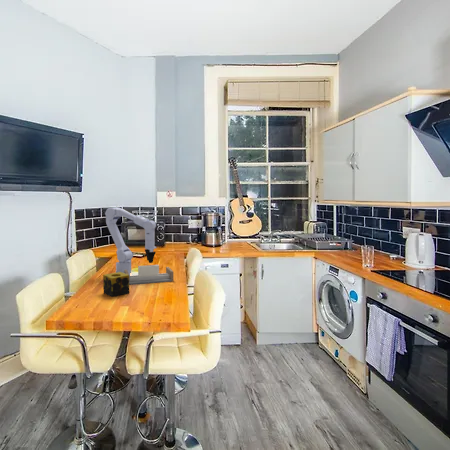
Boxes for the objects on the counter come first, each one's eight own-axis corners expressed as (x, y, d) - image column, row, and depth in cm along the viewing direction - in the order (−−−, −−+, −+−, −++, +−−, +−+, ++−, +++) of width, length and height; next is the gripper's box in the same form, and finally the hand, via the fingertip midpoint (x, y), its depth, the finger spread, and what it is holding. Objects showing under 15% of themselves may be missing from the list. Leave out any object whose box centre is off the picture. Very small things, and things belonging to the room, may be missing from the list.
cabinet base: (126, 285, 192) (126, 274, 191) (124, 279, 205) (124, 269, 204) (173, 281, 202) (173, 271, 201) (168, 276, 215) (168, 266, 214)
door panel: (138, 279, 200) (138, 266, 199) (138, 279, 202) (138, 266, 201) (158, 278, 204) (158, 265, 204) (158, 277, 206) (158, 264, 206)
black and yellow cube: (120, 289, 184) (120, 271, 183) (130, 293, 176) (130, 274, 176) (102, 293, 177) (102, 274, 176) (111, 297, 169) (111, 278, 168)
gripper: (158, 241, 204) (158, 263, 205) (154, 238, 217) (154, 259, 219) (146, 241, 201) (146, 264, 203) (143, 238, 215) (143, 259, 216)
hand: (149, 261), depth 210 cm, fingers open, 7 cm apart
